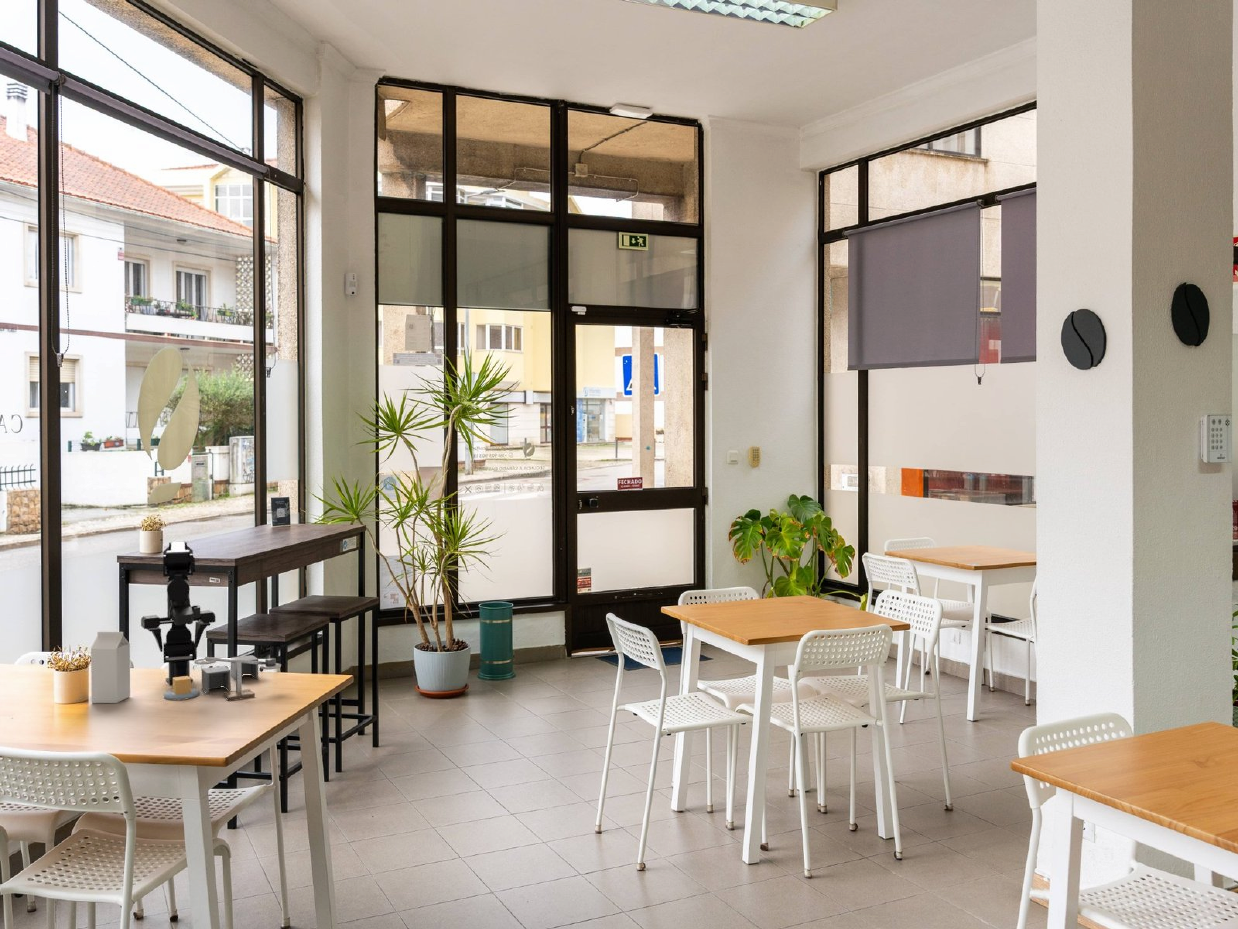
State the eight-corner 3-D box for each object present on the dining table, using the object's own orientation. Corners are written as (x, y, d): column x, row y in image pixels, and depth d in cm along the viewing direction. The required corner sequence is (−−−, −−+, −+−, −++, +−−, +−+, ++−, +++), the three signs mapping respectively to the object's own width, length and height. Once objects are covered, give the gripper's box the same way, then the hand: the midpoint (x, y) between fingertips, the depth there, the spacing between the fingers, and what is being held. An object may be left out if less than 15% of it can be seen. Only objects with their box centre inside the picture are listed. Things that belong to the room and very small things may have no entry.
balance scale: (192, 700, 276) (192, 656, 276) (277, 688, 290) (277, 646, 289) (197, 705, 272) (197, 660, 271) (283, 692, 285) (283, 649, 285)
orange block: (172, 691, 282) (172, 677, 282) (187, 689, 284) (187, 675, 284) (175, 694, 279) (175, 680, 278) (190, 692, 281) (190, 678, 281)
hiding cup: (230, 677, 303) (230, 657, 302) (252, 674, 306) (252, 655, 306) (236, 681, 297) (236, 661, 297) (258, 678, 301) (258, 659, 301)
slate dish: (161, 694, 283) (161, 691, 282) (194, 690, 288) (194, 686, 288) (167, 701, 275) (167, 698, 275) (202, 696, 280) (202, 693, 280)
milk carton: (117, 703, 273) (116, 634, 272) (91, 703, 273) (90, 634, 272) (130, 697, 280) (129, 629, 279) (105, 696, 280) (104, 629, 280)
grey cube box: (201, 689, 288) (201, 668, 288) (225, 686, 292) (224, 665, 292) (207, 694, 283) (206, 673, 283) (230, 690, 287) (230, 670, 287)
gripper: (147, 601, 271) (148, 659, 272) (220, 595, 282) (220, 650, 282) (140, 596, 280) (140, 651, 281) (210, 590, 291) (210, 644, 291)
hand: (178, 649), depth 283 cm, fingers open, 9 cm apart
